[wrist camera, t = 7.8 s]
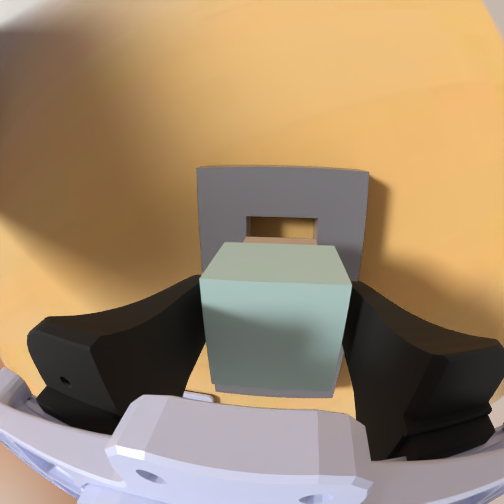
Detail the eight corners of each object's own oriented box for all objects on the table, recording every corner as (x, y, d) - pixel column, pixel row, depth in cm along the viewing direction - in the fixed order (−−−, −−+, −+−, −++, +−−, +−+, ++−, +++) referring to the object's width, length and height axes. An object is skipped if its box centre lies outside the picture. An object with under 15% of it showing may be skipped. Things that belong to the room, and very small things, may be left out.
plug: (318, 308, 15) (330, 390, 9) (238, 305, 15) (211, 383, 10) (326, 229, 13) (352, 284, 8) (235, 226, 14) (199, 278, 8)
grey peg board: (330, 380, 23) (332, 397, 21) (220, 374, 24) (215, 391, 22) (359, 169, 17) (369, 171, 14) (207, 166, 18) (196, 168, 16)
